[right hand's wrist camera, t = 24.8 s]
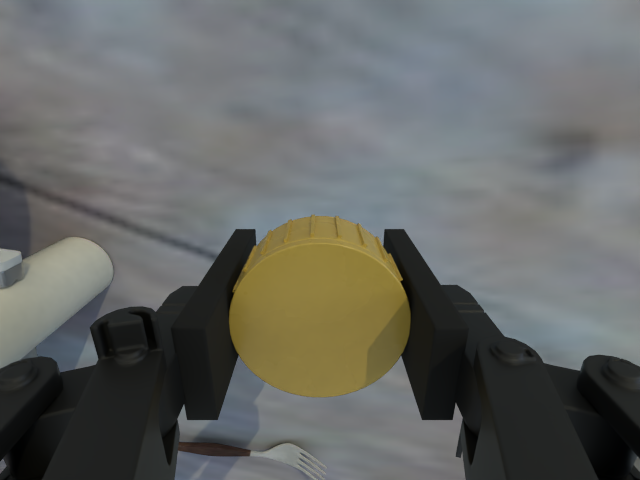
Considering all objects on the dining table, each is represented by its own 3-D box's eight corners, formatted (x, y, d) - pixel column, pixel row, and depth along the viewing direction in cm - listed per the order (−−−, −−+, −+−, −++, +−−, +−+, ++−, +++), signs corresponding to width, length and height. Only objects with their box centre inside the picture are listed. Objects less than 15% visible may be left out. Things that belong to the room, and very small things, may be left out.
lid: (416, 230, 11) (439, 261, 9) (374, 360, 13) (384, 411, 11) (254, 198, 11) (238, 221, 9) (234, 337, 13) (216, 384, 11)
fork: (150, 427, 32) (139, 447, 30) (327, 446, 32) (327, 467, 30) (151, 448, 32) (141, 469, 31) (323, 466, 33) (323, 487, 31)
